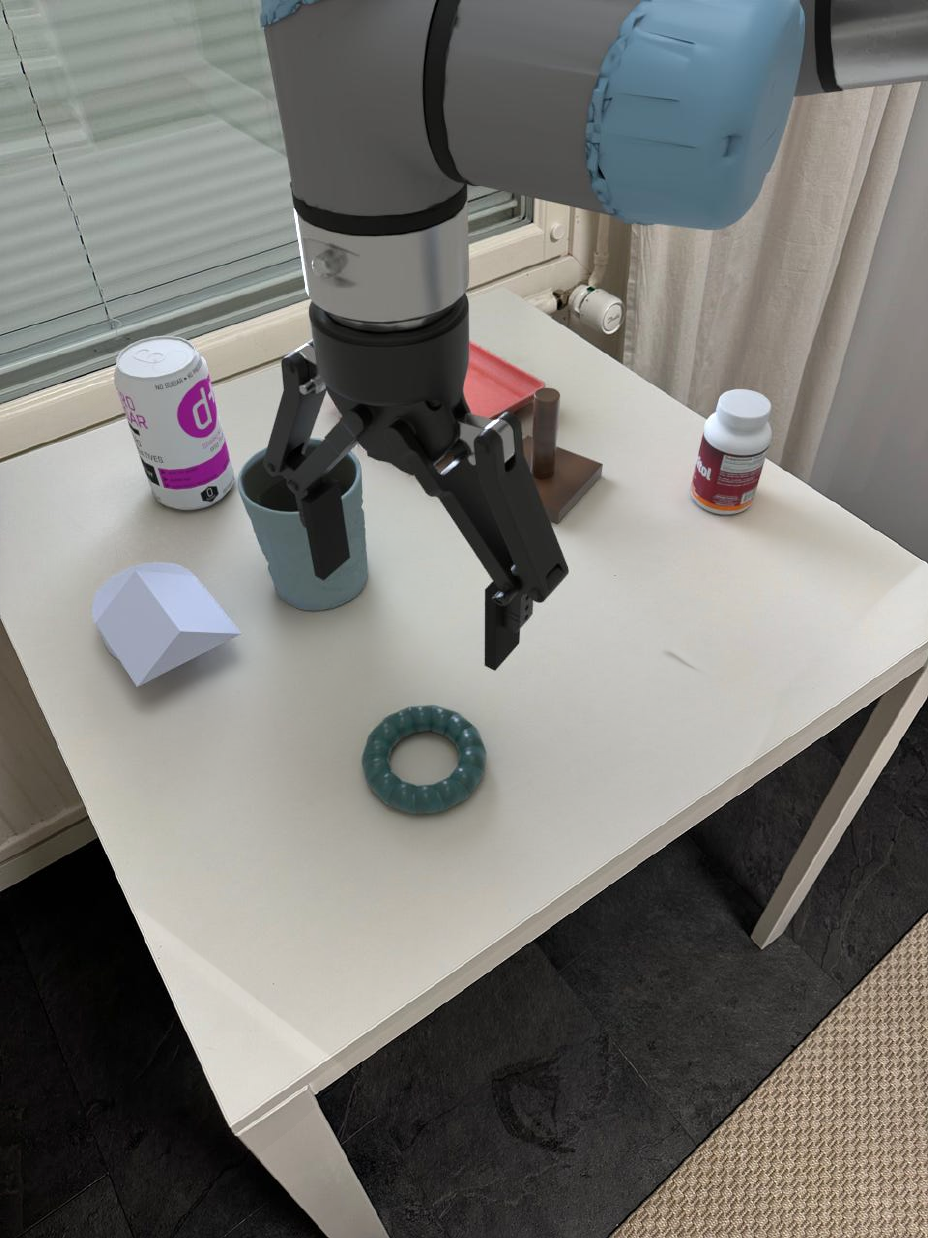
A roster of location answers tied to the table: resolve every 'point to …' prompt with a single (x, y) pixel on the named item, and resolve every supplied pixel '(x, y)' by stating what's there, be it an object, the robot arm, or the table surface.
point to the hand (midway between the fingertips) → (413, 608)
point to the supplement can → (174, 421)
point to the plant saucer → (496, 384)
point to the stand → (556, 460)
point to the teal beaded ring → (423, 795)
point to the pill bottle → (732, 452)
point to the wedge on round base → (158, 619)
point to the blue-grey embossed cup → (304, 533)
